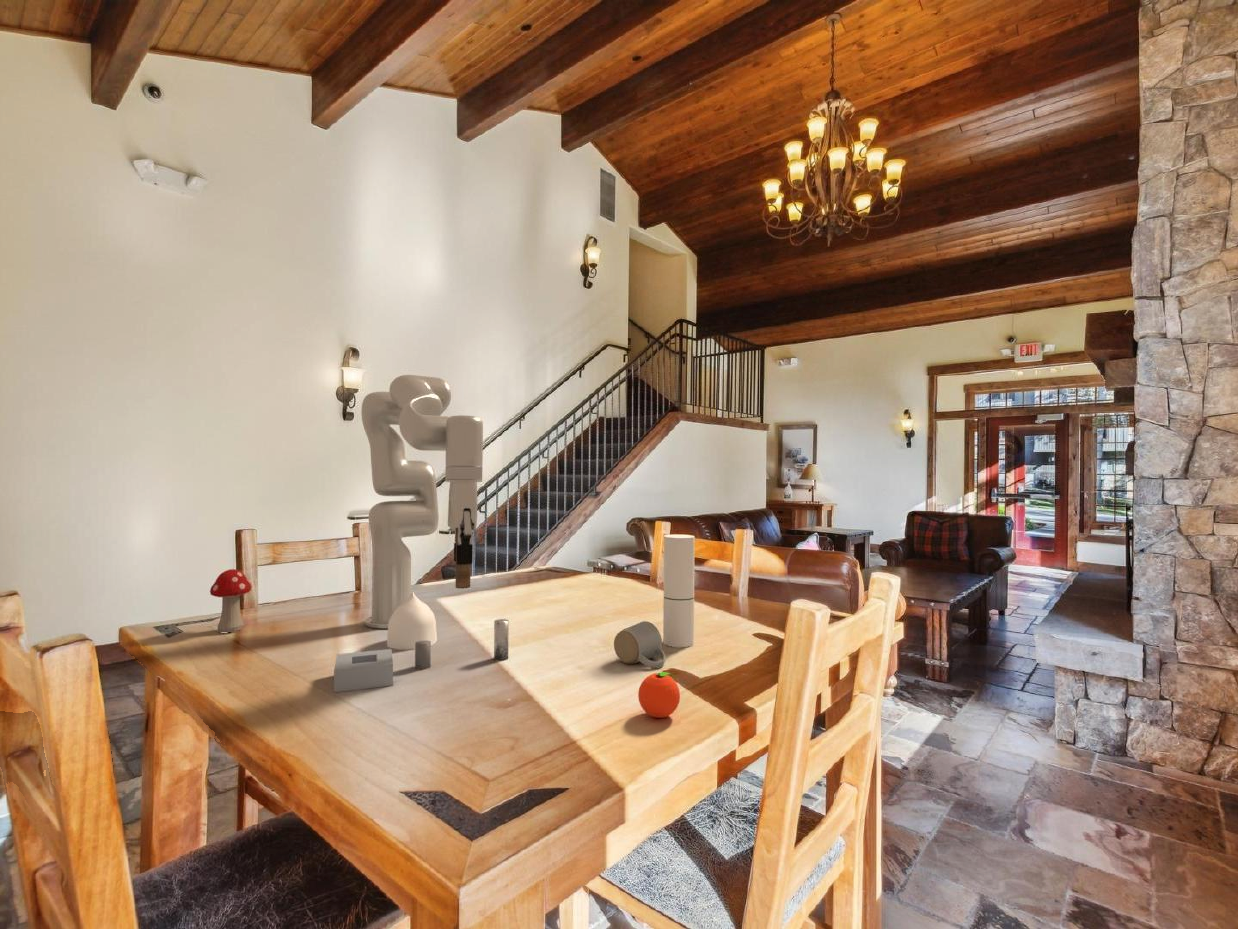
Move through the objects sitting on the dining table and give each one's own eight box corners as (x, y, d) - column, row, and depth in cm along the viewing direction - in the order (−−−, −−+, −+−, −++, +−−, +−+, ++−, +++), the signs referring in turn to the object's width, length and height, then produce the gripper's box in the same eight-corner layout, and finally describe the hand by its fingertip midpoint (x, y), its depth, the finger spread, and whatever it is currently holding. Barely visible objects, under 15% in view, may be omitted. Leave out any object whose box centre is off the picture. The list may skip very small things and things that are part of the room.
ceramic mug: (610, 661, 130) (611, 625, 130) (635, 652, 136) (636, 617, 136) (649, 673, 123) (650, 635, 123) (674, 664, 129) (674, 627, 129)
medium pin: (492, 657, 132) (493, 619, 132) (506, 655, 133) (507, 618, 133) (495, 661, 129) (495, 623, 129) (509, 659, 130) (509, 622, 130)
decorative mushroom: (217, 626, 155) (217, 567, 155) (255, 624, 157) (256, 565, 157) (203, 637, 145) (204, 573, 145) (244, 634, 148) (245, 572, 148)
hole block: (336, 674, 120) (337, 654, 120) (391, 668, 124) (391, 649, 124) (333, 692, 111) (334, 670, 111) (392, 685, 114) (393, 664, 114)
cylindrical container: (693, 639, 147) (694, 534, 147) (694, 648, 140) (695, 538, 140) (663, 638, 147) (664, 534, 147) (662, 646, 140) (663, 537, 140)
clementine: (657, 702, 107) (658, 662, 107) (691, 713, 103) (691, 670, 103) (629, 717, 101) (629, 674, 101) (663, 729, 97) (664, 683, 97)
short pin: (414, 665, 126) (414, 641, 126) (429, 664, 127) (430, 639, 127) (415, 670, 123) (415, 645, 123) (431, 668, 124) (431, 643, 124)
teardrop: (376, 647, 138) (376, 594, 138) (404, 634, 149) (405, 585, 149) (420, 651, 136) (420, 597, 136) (445, 638, 146) (446, 587, 146)
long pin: (454, 586, 129) (455, 519, 129) (469, 585, 130) (469, 519, 130) (456, 588, 126) (457, 520, 126) (471, 588, 127) (472, 520, 127)
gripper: (441, 474, 134) (440, 558, 134) (450, 475, 119) (449, 570, 119) (476, 474, 137) (475, 556, 137) (489, 475, 122) (488, 568, 122)
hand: (463, 562), depth 128 cm, fingers closed on long pin, 3 cm apart
